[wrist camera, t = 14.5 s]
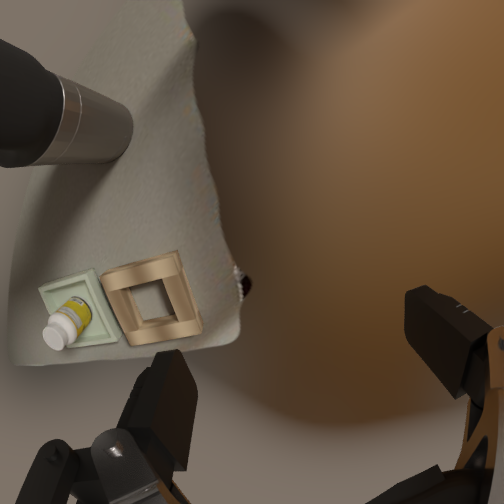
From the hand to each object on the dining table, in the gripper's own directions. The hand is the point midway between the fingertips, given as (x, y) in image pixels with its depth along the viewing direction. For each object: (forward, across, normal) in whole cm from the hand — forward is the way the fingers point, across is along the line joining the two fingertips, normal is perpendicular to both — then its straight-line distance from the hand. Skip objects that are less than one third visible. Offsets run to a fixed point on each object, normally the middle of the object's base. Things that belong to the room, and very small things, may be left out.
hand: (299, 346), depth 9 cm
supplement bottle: (+30, +32, +7) cm, 44 cm away
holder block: (+30, +18, +8) cm, 36 cm away
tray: (+30, +32, +7) cm, 44 cm away
